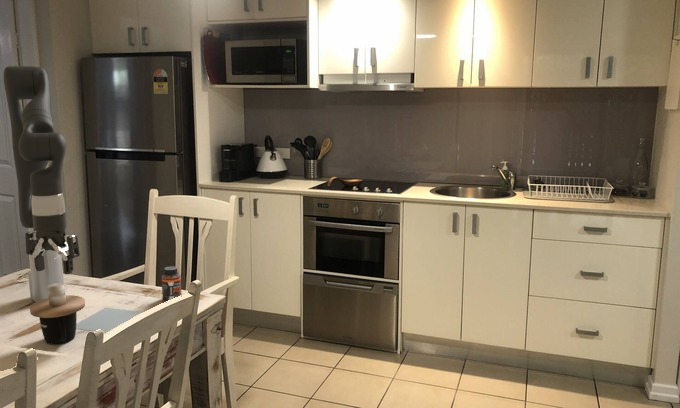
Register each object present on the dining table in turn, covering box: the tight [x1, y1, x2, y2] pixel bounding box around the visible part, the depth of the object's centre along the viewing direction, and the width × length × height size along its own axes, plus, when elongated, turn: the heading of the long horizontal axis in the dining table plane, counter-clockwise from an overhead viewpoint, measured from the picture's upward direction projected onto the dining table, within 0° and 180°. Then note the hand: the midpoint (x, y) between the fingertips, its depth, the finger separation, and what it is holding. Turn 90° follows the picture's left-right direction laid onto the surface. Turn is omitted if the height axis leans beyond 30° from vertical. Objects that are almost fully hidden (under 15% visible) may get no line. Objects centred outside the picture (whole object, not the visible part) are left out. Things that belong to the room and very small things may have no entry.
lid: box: [29, 283, 86, 318], centre depth 149 cm, size 13×13×6 cm
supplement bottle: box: [161, 266, 182, 303], centre depth 181 cm, size 6×6×11 cm
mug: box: [38, 312, 77, 346], centre depth 150 cm, size 12×9×10 cm
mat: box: [76, 307, 143, 333], centre depth 165 cm, size 16×16×1 cm
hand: (54, 271), depth 147 cm, fingers open, 8 cm apart
